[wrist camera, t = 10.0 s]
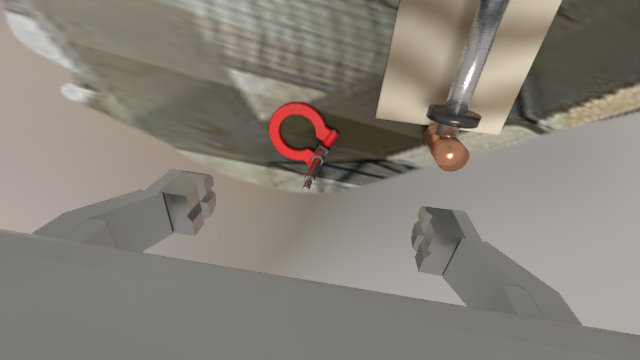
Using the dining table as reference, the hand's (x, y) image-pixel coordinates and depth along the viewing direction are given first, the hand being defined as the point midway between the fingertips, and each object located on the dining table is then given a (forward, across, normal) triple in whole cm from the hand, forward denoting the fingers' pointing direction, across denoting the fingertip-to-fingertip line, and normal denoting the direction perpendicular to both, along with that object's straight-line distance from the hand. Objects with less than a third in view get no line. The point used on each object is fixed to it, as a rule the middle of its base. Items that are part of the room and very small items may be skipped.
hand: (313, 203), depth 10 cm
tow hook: (+28, +5, +8) cm, 30 cm away
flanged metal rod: (+26, -13, -2) cm, 29 cm away
